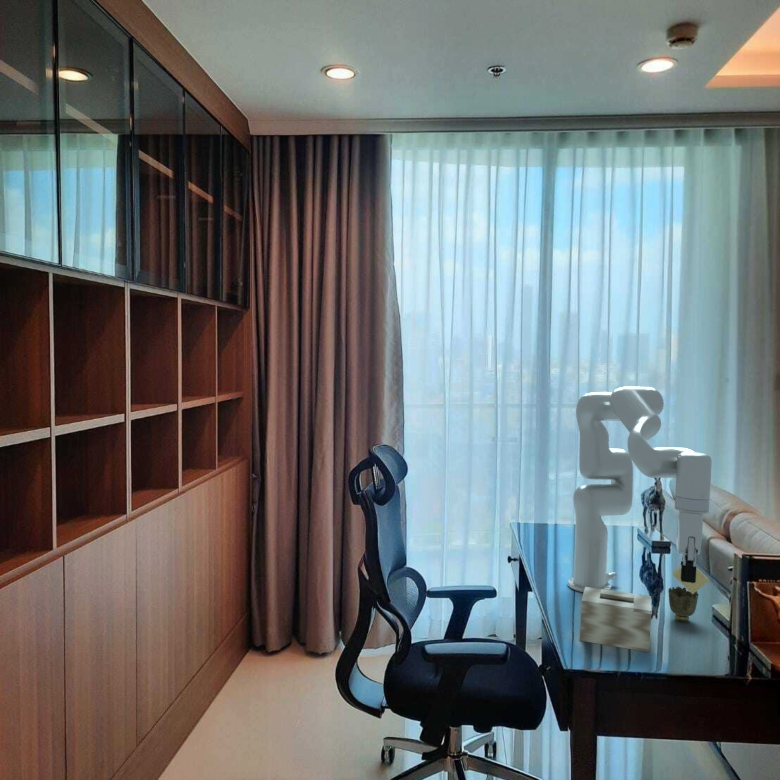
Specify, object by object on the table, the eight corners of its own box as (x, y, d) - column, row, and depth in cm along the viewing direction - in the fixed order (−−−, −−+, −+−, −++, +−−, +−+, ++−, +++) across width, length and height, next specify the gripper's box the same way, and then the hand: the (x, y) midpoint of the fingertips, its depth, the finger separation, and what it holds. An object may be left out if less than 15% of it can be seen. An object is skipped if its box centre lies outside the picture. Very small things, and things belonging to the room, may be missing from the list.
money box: (649, 635, 171) (651, 596, 170) (649, 652, 160) (651, 610, 160) (583, 624, 176) (585, 586, 176) (579, 640, 166) (581, 600, 166)
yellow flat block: (707, 578, 162) (688, 559, 163) (708, 580, 159) (689, 561, 161) (691, 591, 163) (672, 572, 164) (692, 594, 161) (673, 575, 162)
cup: (662, 619, 182) (663, 590, 181) (673, 612, 187) (675, 584, 187) (690, 628, 176) (692, 597, 176) (701, 621, 182) (702, 591, 181)
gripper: (673, 496, 170) (669, 568, 171) (676, 509, 155) (672, 588, 156) (706, 499, 167) (702, 573, 168) (712, 512, 153) (707, 593, 153)
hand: (687, 579), depth 162 cm, fingers closed on yellow flat block, 2 cm apart
